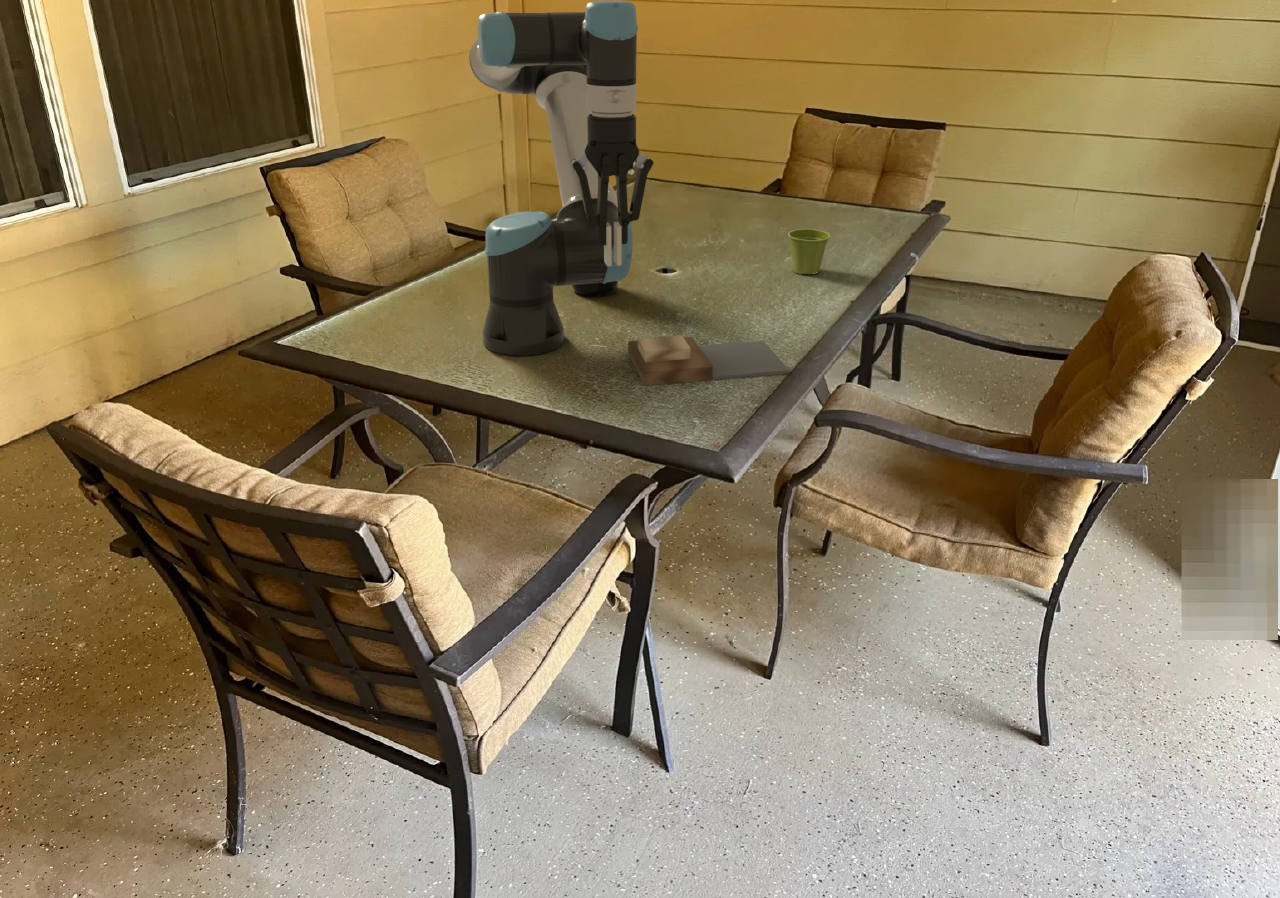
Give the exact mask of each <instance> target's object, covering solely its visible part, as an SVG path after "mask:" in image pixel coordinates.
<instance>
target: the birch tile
mask: <svg viewBox="0 0 1280 898" xmlns="http://www.w3.org/2000/svg"><path fill="white" fill-rule="evenodd" d="M683 337H684V336H682V335H671V336H658V337H657V336H656V337H645V338H644V337H643V338H637V341H638V350H639V352H640V354H641V356H642V357H643V359H644V361H645V362H656V361H668V360H681V359H690V347H689V345H688V344H687V342H686V341H685V339H684V338H683Z"/></svg>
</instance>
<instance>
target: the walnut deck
mask: <svg viewBox="0 0 1280 898" xmlns="http://www.w3.org/2000/svg"><path fill="white" fill-rule="evenodd" d="M682 337H683V338H684V339H685V341H686V342H687V344H688V345H689V347H690V359H681V360H668V361H656V362H645V361H644V359H643V357H642V356H641V354H640V352H639V350H638V340H629V341H627V355H628V357H629V359H630V361H631V363H632V365H633V367H634V368H635V370H636V372H637V373H638V376H639V378H640V380H641V382H642V383H643V385H644V386H654V385H667V384H678V383H679V384H680V383H681V384H682V383H689V382H690V383H692V382H703V381H713V380H712V377H713V366H712V364H711V363H710V362H709V360H708V359H707V357H706V356H705V354H704V353H703V352H702V350H701V349H700V347H699V346H700V345H699V344H698V343H697V341H695V339H694V338H693V336H682Z"/></svg>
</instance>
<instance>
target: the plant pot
mask: <svg viewBox="0 0 1280 898" xmlns="http://www.w3.org/2000/svg"><path fill="white" fill-rule="evenodd" d="M787 236H788V238H789V242H790V247H791V263H792V264H791V267H792V272H793V271H794V272H793V273H795V274H797V273H798V274H797V275H801V274H804V275H806V274H807V275H809V274H813V273H816V272H818V271H819V272H820V270H821V265H822V262H823V258H824V257H823V256H824V254H825V250H826V246H827V244H828V241H829V239H830V238H831V234H830V233H829V232H827V231H823V230H820V229H814V228H812V229H811V228H801V229H793V230H791V231H788V234H787Z"/></svg>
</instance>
